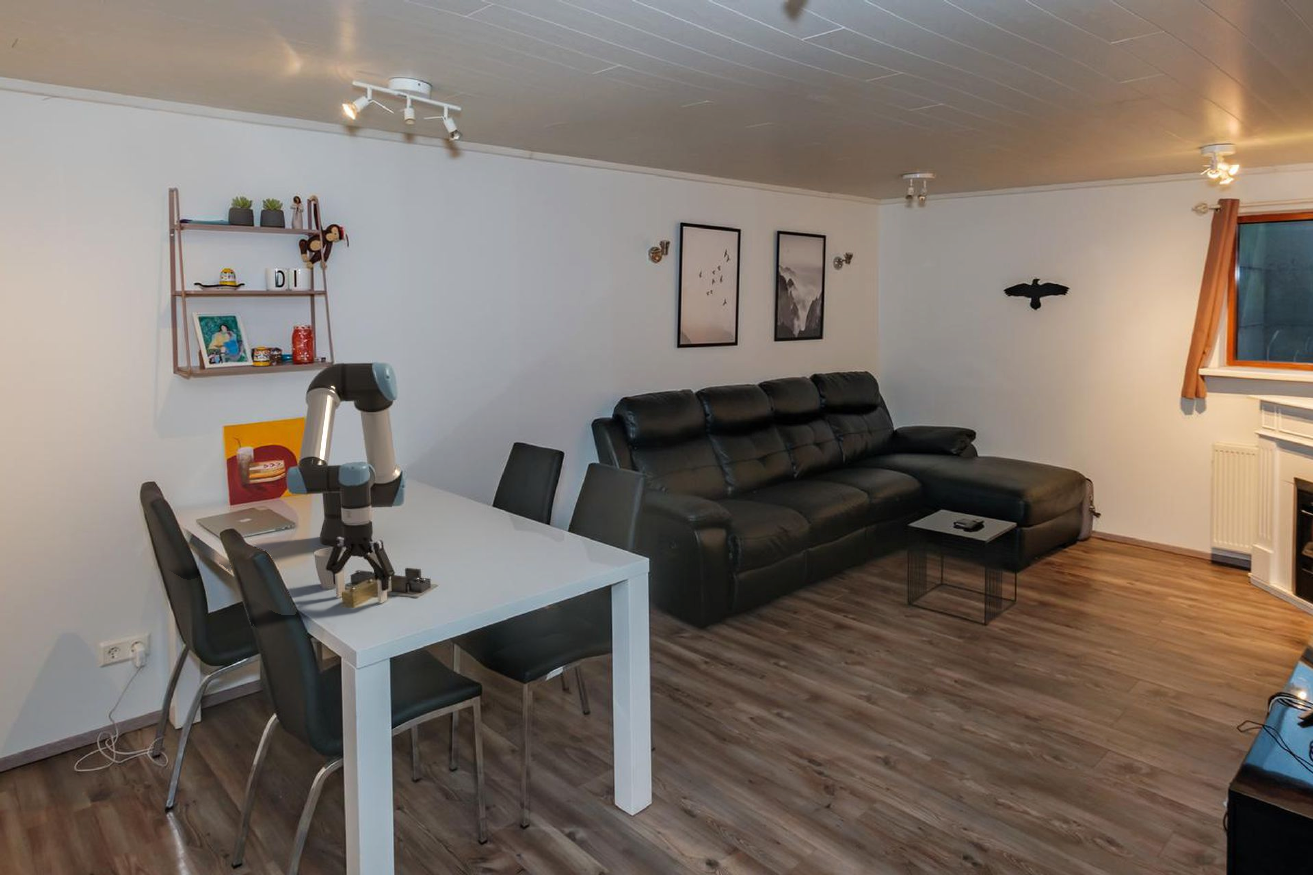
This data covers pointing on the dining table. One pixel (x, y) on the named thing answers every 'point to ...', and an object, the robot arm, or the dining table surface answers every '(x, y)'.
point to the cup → (321, 563)
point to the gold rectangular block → (360, 593)
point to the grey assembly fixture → (397, 580)
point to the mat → (408, 594)
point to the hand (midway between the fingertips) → (361, 598)
